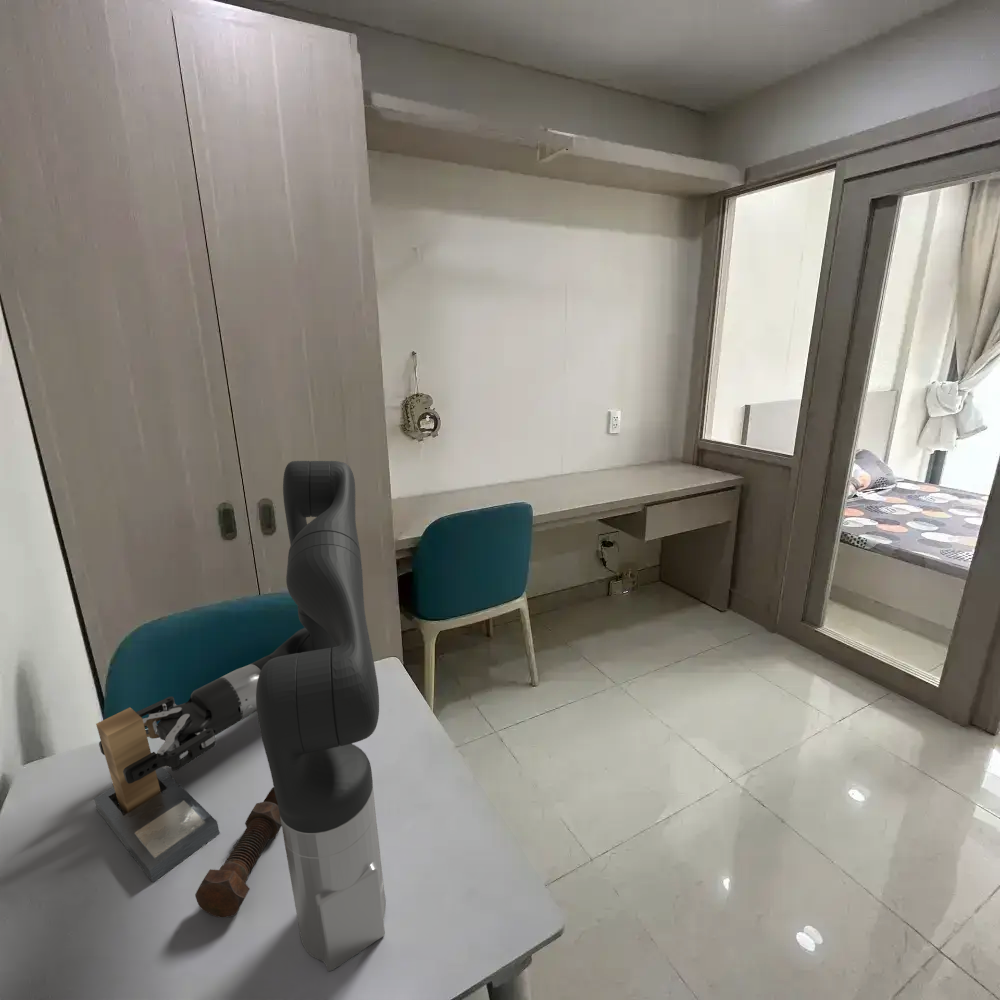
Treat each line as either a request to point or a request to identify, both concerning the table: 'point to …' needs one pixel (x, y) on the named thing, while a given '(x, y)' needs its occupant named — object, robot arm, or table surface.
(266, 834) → the bolt
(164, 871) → the socket plate
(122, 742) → the wooden peg
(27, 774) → the table surface
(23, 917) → the table surface
